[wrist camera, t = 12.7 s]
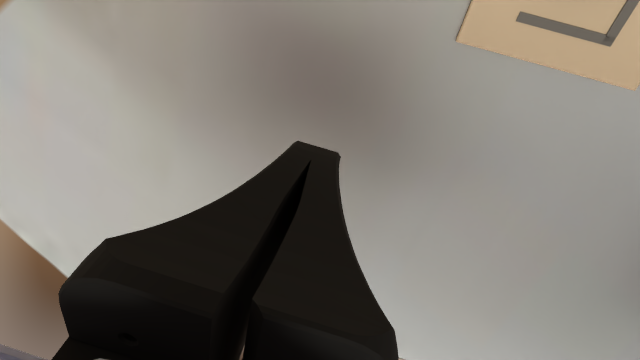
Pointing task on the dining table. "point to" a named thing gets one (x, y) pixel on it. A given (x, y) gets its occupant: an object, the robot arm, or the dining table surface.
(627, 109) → the dining table surface
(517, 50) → the sketch pad
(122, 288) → the robot arm
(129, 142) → the dining table surface
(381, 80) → the dining table surface
